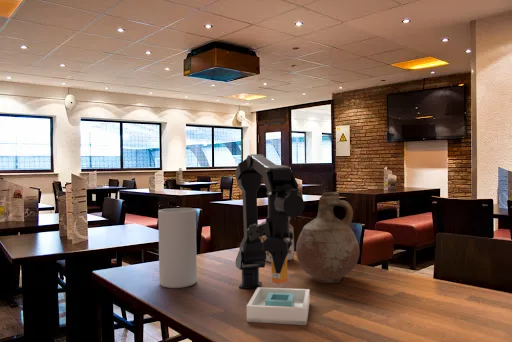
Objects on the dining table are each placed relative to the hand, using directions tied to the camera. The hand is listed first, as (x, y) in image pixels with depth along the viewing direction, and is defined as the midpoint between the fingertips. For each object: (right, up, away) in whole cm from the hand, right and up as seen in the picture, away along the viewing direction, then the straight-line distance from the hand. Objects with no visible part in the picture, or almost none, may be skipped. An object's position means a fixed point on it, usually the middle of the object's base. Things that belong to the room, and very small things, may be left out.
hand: (279, 270), depth 107 cm
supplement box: (0, -3, 0) cm, 3 cm away
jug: (+18, -11, +30) cm, 37 cm away
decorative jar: (+2, -11, +62) cm, 63 cm away
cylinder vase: (-33, -12, +28) cm, 45 cm away
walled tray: (0, -11, 0) cm, 11 cm away
